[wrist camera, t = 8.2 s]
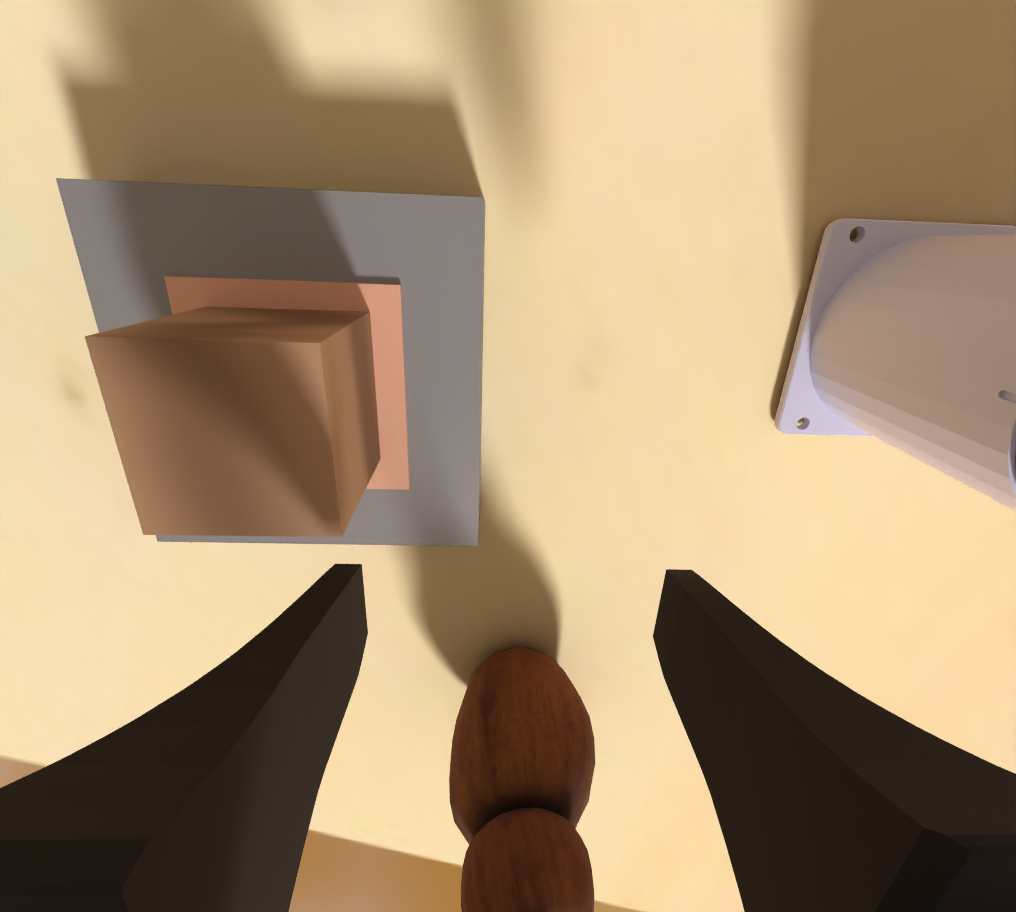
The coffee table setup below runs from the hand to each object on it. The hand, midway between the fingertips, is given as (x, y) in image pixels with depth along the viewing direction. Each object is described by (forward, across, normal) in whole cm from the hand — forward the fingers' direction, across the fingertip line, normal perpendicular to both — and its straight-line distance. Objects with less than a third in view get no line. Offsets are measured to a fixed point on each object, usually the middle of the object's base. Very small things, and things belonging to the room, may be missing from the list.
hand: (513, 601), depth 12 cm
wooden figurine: (+10, -1, +13) cm, 16 cm away
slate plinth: (+10, +7, -3) cm, 12 cm away
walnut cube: (+7, +7, -3) cm, 10 cm away
